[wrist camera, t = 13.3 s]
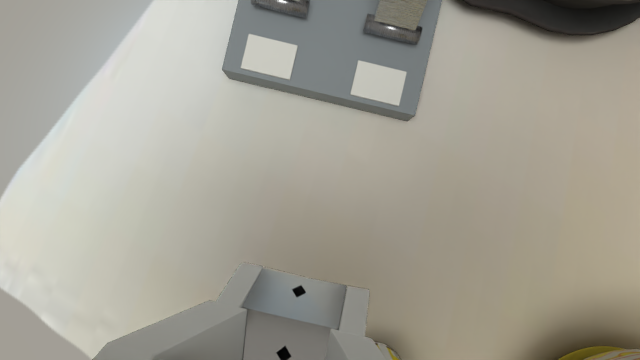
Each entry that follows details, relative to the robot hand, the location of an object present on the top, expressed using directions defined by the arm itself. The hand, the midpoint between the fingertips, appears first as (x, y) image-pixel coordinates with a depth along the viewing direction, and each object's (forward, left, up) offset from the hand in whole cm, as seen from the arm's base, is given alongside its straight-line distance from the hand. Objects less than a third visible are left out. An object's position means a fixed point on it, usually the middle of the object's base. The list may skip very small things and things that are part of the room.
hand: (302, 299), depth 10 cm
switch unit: (+2, -16, -28) cm, 32 cm away
